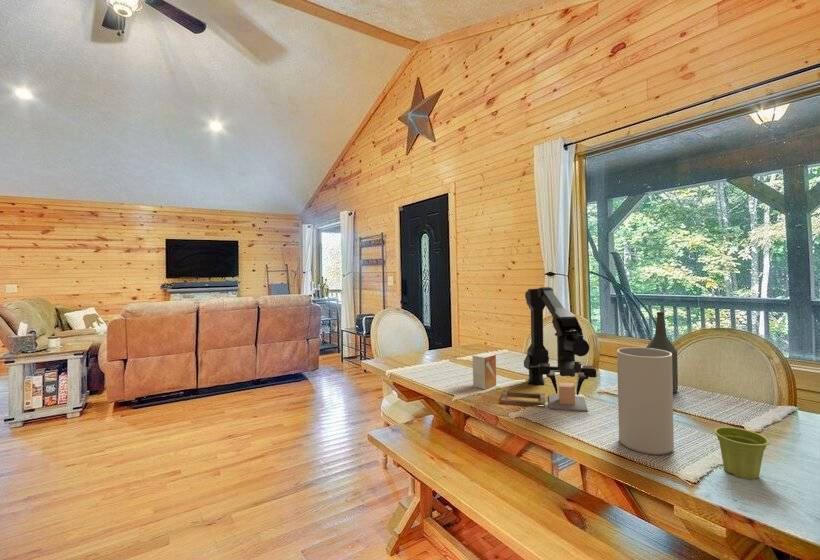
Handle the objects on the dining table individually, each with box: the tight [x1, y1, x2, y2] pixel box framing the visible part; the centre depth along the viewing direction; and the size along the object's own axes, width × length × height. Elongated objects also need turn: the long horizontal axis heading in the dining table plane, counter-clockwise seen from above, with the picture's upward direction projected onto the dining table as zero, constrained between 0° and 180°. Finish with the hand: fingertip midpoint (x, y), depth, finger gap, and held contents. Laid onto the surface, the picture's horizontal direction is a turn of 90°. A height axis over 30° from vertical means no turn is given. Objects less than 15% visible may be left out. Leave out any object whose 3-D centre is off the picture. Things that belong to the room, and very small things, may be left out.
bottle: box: [645, 311, 679, 393], centre depth 148 cm, size 10×10×30 cm
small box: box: [472, 352, 497, 390], centre depth 160 cm, size 8×6×13 cm
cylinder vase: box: [616, 347, 675, 455], centre depth 103 cm, size 12×12×25 cm
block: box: [558, 382, 576, 405], centre depth 137 cm, size 5×5×6 cm
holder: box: [500, 390, 546, 407], centre depth 142 cm, size 11×15×1 cm
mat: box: [548, 394, 589, 413], centre depth 137 cm, size 14×12×1 cm
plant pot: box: [714, 426, 770, 480], centre depth 88 cm, size 9×9×9 cm
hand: (566, 394), depth 137 cm, fingers open, 6 cm apart
